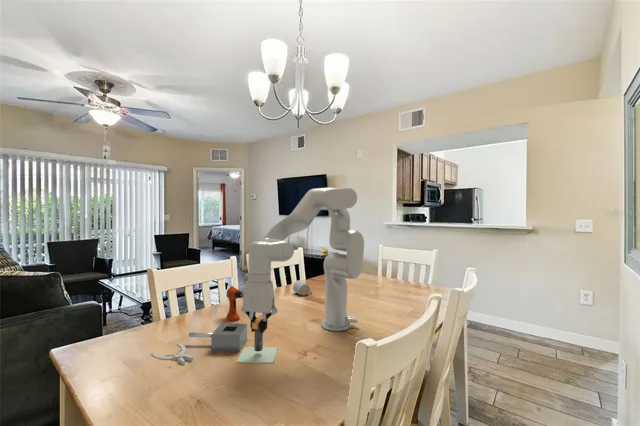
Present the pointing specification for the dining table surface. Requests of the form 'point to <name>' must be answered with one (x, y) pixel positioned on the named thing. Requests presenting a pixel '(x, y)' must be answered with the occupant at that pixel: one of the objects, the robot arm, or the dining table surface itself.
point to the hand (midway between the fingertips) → (258, 330)
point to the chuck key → (258, 334)
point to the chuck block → (226, 337)
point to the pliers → (176, 356)
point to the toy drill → (233, 303)
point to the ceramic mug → (301, 288)
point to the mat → (257, 355)
